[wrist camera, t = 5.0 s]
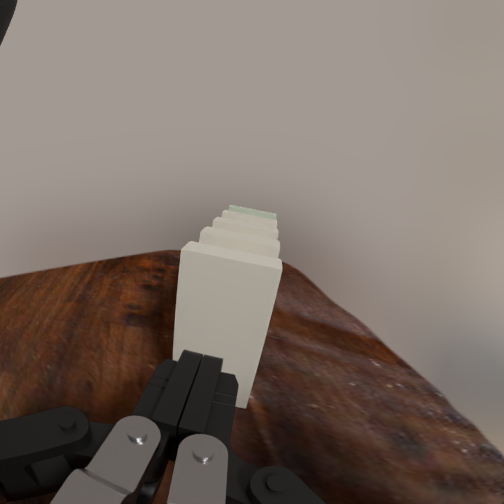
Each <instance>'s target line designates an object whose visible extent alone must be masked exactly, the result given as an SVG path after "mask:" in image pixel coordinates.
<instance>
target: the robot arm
mask: <svg viewBox="0 0 504 504" xmlns="http://www.w3.org/2000/svg"><path fill="white" fill-rule="evenodd" d="M16 4H17V0H0V45H1V43H2V41H3V38H4V36H5V34H6V31H7V29H8V27H9V24H10V21H11V19H12V17H13V14H14V11H15V7H16ZM222 365H223V358H219V357H214V356H210V355H206V354H204V356H203V354H201V353H197V352H193V351H189V350H185V349H184V350H183V352H182V354H181V356H180V358H179V360H178V361H175V360H171V359H166V360H165V361H163V362H162V363H160V364H159V365H158V366H157V368H156V369H155V371H154V373H153V375H152V377H151V379H150V380H149V382H148V385H147V386H146V388H145V390H144V392H143V393H142V395H141V397H140V399H139V401H138V403H137V405H136V407H135V408H134V410H133V412H132V414H131V415H130V416H128V417H125V418H123V419H121V420H120V421H118V422H117V423H114V424H106V423H98V422H92V421H88V420H87V418H86V416H85V415H84V414H83V413H82V412H81V411H80V410H78V409H76V408H74V407H69V406H63V407H58V408H54V409H51V410H47V411H43V412H39V413H35V414H31V415H26V416H22V417H17V418H13V419H8V420H3V421H0V504H8V502H10V501H16V500H21V499H26V498H31V497H36V496H40V495H44V494H48V493H52V492H56V491H58V492H57V494H56V495H55V497H54V498H53V500H52V501H51V503H50V504H152V502H153V500H154V498H155V495H156V493H157V491H158V489H159V486H160V484H161V482H162V480H163V477H164V472H165V470H166V467H167V464H168V461H169V460H171V461H174V462H175V466H174V471H173V476H172V481H171V486H170V491H169V496H168V501H167V504H326V503H325V502H324V501H323V500H321V499H320V498H319V497H318V496H317V495H316V494H315V493H314V492H313V491H312V490H311V489H310V488H309V487H308V486H307V485H306V484H305V483H304V482H303V481H302V480H301V479H300V478H299V477H298V476H297V475H296V474H295V473H294V472H292V471H291V470H289V469H287V468H285V467H281V466H267V467H263V468H259V467H256V466H254V465H251V464H249V463H247V462H245V461H243V460H241V459H240V458H239V457H237V456H236V454H235V453H234V452H233V450H232V448H231V445H230V436H231V430H232V424H233V418H234V412H235V406H236V400H237V394H238V387H239V384H238V382H237V379H236V377H235V375H234V374H229V373H225V372H221V371H222Z"/></svg>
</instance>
